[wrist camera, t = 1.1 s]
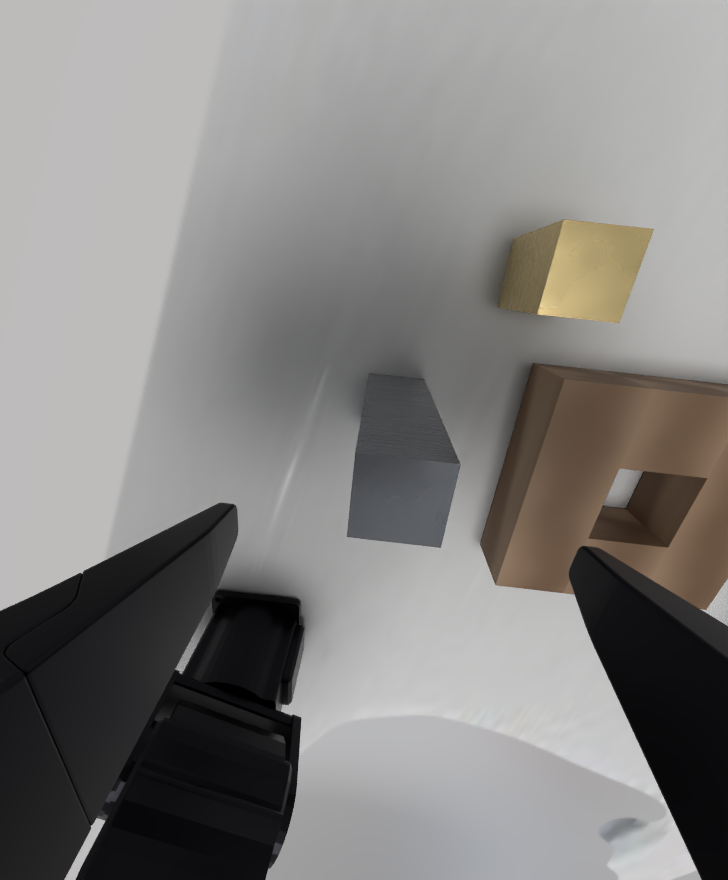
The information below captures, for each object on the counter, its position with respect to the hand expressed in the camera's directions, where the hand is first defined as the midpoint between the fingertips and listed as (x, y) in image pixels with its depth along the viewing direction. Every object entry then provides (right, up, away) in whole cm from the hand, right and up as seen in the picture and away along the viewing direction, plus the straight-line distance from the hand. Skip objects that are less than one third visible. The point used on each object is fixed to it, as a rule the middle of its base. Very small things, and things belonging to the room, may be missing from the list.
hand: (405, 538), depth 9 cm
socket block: (+13, +1, +12) cm, 18 cm away
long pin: (+1, +5, +11) cm, 12 cm away
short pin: (+7, +10, +8) cm, 15 cm away
